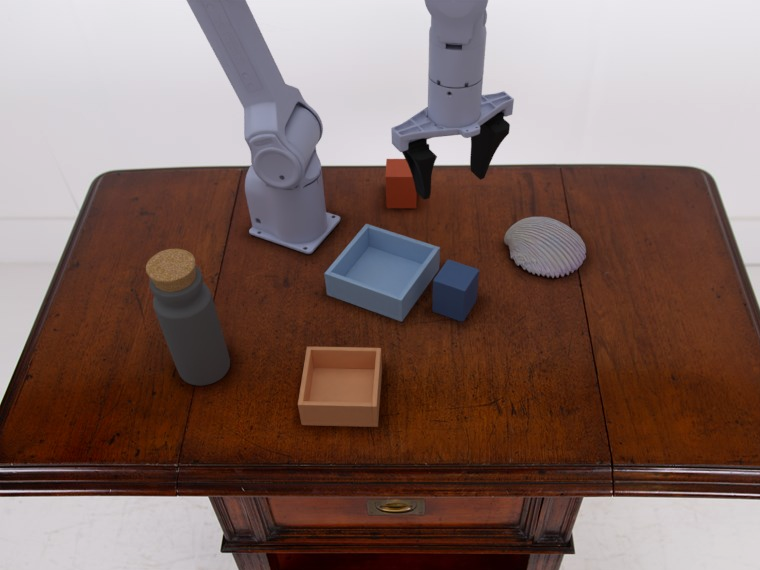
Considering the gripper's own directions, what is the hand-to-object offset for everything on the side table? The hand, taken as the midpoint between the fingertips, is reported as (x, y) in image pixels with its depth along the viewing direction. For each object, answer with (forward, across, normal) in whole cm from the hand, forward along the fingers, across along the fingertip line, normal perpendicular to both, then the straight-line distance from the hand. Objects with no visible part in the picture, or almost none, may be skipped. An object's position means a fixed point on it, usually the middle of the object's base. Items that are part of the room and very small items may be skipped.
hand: (450, 184), depth 89 cm
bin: (+9, -10, -2) cm, 14 cm away
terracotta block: (+9, 0, +11) cm, 15 cm away
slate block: (+9, -5, -10) cm, 14 cm away
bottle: (+10, -34, -4) cm, 36 cm away
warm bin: (+9, -23, -15) cm, 29 cm away
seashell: (+9, +10, -7) cm, 15 cm away
